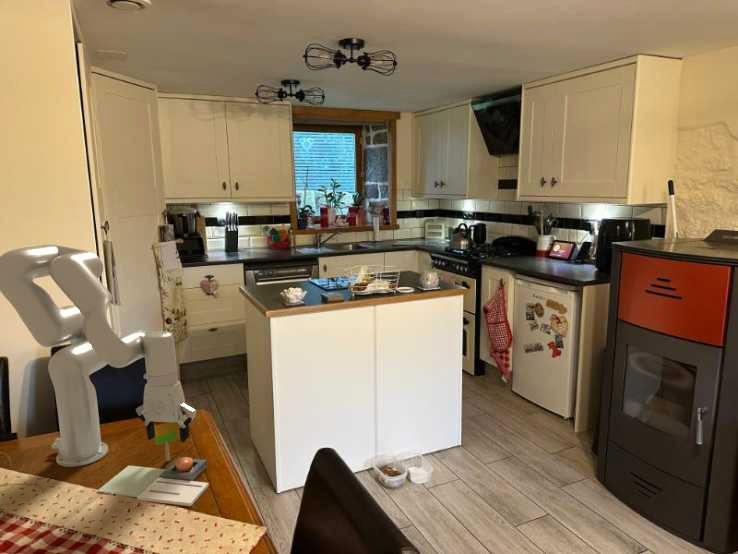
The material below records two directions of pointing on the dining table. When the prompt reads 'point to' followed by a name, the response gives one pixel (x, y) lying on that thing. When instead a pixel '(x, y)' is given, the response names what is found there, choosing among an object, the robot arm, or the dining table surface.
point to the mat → (132, 481)
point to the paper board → (173, 491)
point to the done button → (184, 464)
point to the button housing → (188, 476)
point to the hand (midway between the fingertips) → (168, 438)
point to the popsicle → (165, 435)
